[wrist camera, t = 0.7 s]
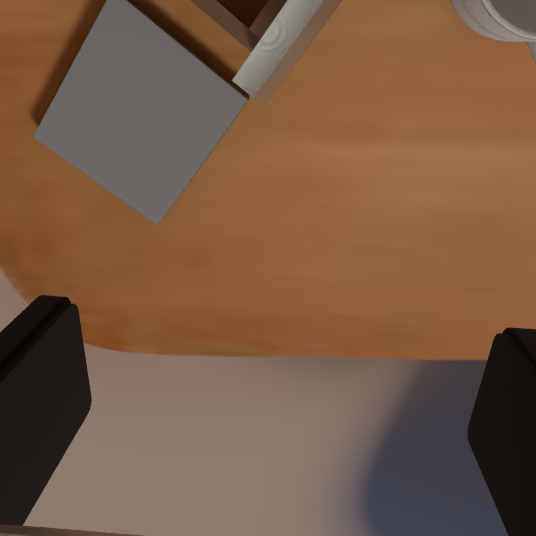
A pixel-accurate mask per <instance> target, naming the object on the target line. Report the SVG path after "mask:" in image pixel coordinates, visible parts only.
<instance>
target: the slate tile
mask: <svg viewBox="0 0 536 536" xmlns="http://www.w3.org/2000/svg"><path fill="white" fill-rule="evenodd" d="M249 99H250V98H248V97H247V96H246V95H245V94H244V93H242V92H241V91H240V90H239V89H238V88H236V87H235V86H234V85H233V84H231V83H230V82H229V81H228V80H227V79H225V78H224V77H223V76H222V75H221V74H219V73H218V72H217V71H216V70H214V69H213V68H212V67H211V66H210V65H208V64H207V63H206V62H205V61H204V60H202V59H201V58H200V57H199V56H197V55H196V54H195V53H194V52H193V51H191V50H190V49H189V48H188V47H186V46H185V45H184V44H183V43H182V42H180V41H179V40H178V39H177V38H176V37H174V36H173V35H172V34H171V33H169V32H168V31H167V30H166V29H165V28H163V27H162V26H161V25H160V24H159V23H157V22H156V21H155V20H154V19H152V18H151V17H150V16H149V15H148V14H146V13H145V12H144V11H143V10H142V9H140V8H139V7H138V6H137V5H135V4H134V3H133V2H132V1H131V0H107V1H106V3H105V4H104V6H103V8H102V10H101V12H100V14H99V16H98V17H97V19H96V21H95V23H94V25H93V27H92V29H91V30H90V32H89V34H88V36H87V38H86V40H85V41H84V43H83V45H82V47H81V49H80V51H79V53H78V54H77V56H76V58H75V60H74V62H73V64H72V66H71V67H70V69H69V71H68V73H67V75H66V77H65V79H64V80H63V82H62V84H61V86H60V88H59V90H58V92H57V93H56V95H55V97H54V99H53V101H52V103H51V105H50V106H49V108H48V110H47V112H46V114H45V116H44V117H43V119H42V121H41V123H40V125H39V127H38V129H37V130H36V132H35V134H34V136H33V137H34V138H35V139H37V140H38V141H40V142H41V143H42V144H44V145H45V146H47V147H48V148H49V149H51V150H52V151H54V152H55V153H56V154H58V155H59V156H61V157H62V158H63V159H65V160H66V161H68V162H69V163H70V164H72V165H73V166H75V167H76V168H77V169H79V170H80V171H82V172H83V173H84V174H86V175H87V176H89V177H90V178H92V179H93V180H94V181H96V182H97V183H99V184H100V185H101V186H103V187H104V188H106V189H107V190H108V191H110V192H111V193H113V194H114V195H115V196H117V197H118V198H120V199H121V200H122V201H124V202H125V203H127V204H128V205H129V206H131V207H132V208H134V209H135V210H137V211H138V212H139V213H141V214H142V215H144V216H145V217H146V218H148V219H149V220H151V221H152V222H153V223H155V224H156V225H159V223H160V222H161V221H162V220H163V218H164V217H165V215H166V214H167V213H168V211H169V210H170V208H171V207H172V206H173V204H174V203H175V202H176V200H177V199H178V197H179V196H180V195H181V193H182V192H183V190H184V189H185V188H186V186H187V185H188V183H189V182H190V181H191V179H192V178H193V177H194V175H195V174H196V172H197V171H198V170H199V168H200V167H201V165H202V164H203V163H204V161H205V160H206V158H207V157H208V156H209V154H210V153H211V152H212V150H213V149H214V147H215V146H216V145H217V143H218V142H219V140H220V139H221V138H222V136H223V135H224V133H225V132H226V131H227V129H228V128H229V126H230V125H231V124H232V122H233V121H234V120H235V118H236V117H237V115H238V114H239V113H240V111H241V110H242V108H243V107H244V106H245V104H246V103H247V101H248V100H249Z"/></svg>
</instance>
